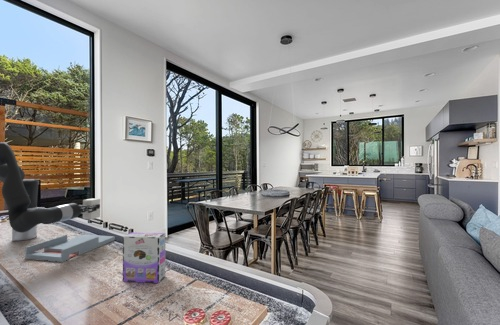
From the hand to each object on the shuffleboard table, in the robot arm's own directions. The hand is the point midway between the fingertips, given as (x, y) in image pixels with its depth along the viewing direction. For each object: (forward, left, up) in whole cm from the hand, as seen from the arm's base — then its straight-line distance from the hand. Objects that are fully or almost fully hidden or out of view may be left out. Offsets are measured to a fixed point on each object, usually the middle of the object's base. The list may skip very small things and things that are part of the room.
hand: (94, 206), depth 129 cm
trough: (-7, -10, -19) cm, 22 cm away
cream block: (-1, -2, -6) cm, 6 cm away
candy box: (+24, -58, -19) cm, 65 cm away
